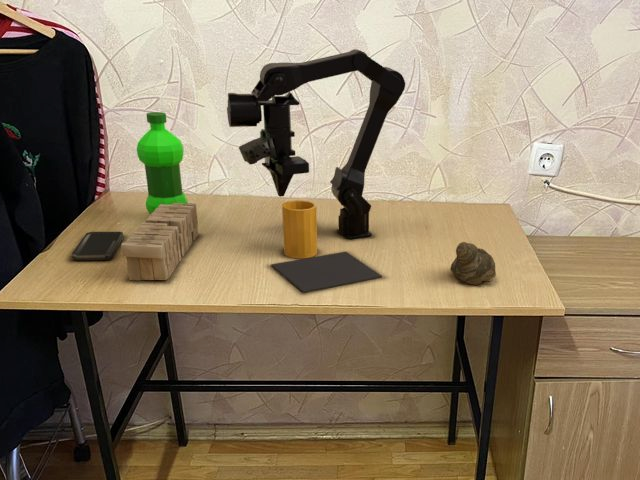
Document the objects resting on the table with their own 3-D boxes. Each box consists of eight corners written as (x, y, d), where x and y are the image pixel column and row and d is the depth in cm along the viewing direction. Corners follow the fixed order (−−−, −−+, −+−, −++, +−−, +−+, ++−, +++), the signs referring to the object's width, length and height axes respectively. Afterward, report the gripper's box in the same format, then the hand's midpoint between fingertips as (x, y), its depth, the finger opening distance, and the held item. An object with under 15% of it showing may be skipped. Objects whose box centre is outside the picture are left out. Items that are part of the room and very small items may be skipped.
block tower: (166, 237, 167) (124, 282, 141) (161, 202, 164) (118, 241, 137) (200, 238, 168) (165, 284, 142) (197, 203, 164) (160, 243, 138)
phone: (70, 255, 149) (87, 231, 162) (71, 260, 149) (88, 236, 162) (110, 255, 150) (124, 231, 163) (111, 260, 151) (125, 236, 164)
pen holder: (308, 245, 166) (307, 198, 161) (322, 255, 161) (321, 207, 156) (279, 250, 162) (276, 202, 157) (292, 260, 157) (290, 212, 152)
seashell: (433, 243, 154) (445, 259, 145) (479, 213, 153) (494, 228, 145) (458, 283, 160) (471, 301, 151) (502, 255, 159) (518, 271, 150)
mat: (345, 253, 163) (345, 251, 163) (381, 277, 151) (381, 275, 151) (271, 266, 153) (271, 264, 153) (303, 293, 142) (303, 291, 142)
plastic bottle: (144, 226, 171) (129, 118, 159) (149, 212, 180) (135, 109, 168) (189, 225, 173) (177, 118, 161) (191, 211, 182) (180, 109, 170)
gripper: (226, 120, 159) (232, 189, 166) (259, 137, 145) (263, 212, 153) (273, 117, 165) (277, 184, 172) (309, 133, 151) (311, 205, 159)
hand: (281, 196), depth 164 cm, fingers closed
